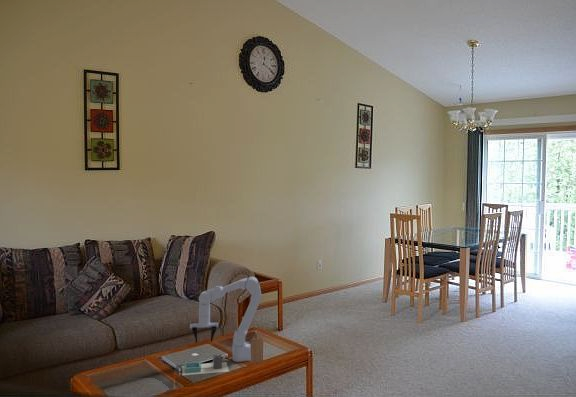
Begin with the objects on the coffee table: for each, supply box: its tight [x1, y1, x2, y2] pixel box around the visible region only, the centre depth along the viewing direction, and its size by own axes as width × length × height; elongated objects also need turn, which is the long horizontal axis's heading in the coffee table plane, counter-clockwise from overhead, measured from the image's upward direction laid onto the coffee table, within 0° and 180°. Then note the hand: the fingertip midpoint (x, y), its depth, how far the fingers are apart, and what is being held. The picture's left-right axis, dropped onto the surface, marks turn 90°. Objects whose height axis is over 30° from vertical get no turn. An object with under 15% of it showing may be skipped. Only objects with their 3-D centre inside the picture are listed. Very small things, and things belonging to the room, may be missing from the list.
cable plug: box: [212, 354, 223, 369], centre depth 231 cm, size 4×4×6 cm
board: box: [181, 361, 230, 376], centre depth 230 cm, size 22×13×3 cm, turn 103°
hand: (203, 341), depth 242 cm, fingers open, 7 cm apart
